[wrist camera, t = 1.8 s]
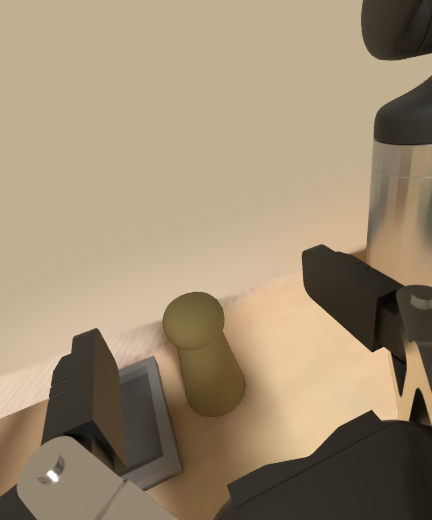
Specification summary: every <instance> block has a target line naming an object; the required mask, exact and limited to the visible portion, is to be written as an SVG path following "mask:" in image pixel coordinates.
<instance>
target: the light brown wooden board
mask: <svg viewBox="0 0 432 520" xmlns="http://www.w3.org/2000/svg"><path fill="white" fill-rule="evenodd" d="M48 400H49V399H47V400H45V401H42V402H40V403H38V404H35V405H33V406H30V407H28V408H25V409H23V410H21V411H18V412H16V413H13V414H11V415H9V416H6V417H4V418H1V419H0V496H2V495H3V494H4V493H6V492H7V491H8V490H10V489H11V488H12V487H13V486H14V485H15V484H17V481H18V478H19V475H20V472H21V470H22V468H23V466H24V465H25V463H26V462H27V460H28V459H29V458H30V456H31V455H32V454H33V453H34V452H35V451H36V450H37V449H38V448H39V447H40V446H41V441H42V435H43V429H44V423H45V417H46V411H47V405H48Z"/></svg>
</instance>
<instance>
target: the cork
mask: <svg viewBox="0 0 432 520" xmlns="http://www.w3.org/2000/svg"><path fill="white" fill-rule="evenodd" d="M223 327H224V313H223V309H222V307H221V305H220V304H219V302H218V301H217V299H215V298H214V297H213V296H211V295H209V294H207V293H203V292H192V293H187V294H184V295H182V296H180V297H178V298H176V299H175V300H173V301H172V302H171V303H170V304H169V305H168V307H167V309H166V311H165V313H164V317H163V328H164V331H165V333H166V336H167V338H168V339H169V340H170V341H171V342H172V343H173V344H174V345H175V346H176V347H177V350H178V355H179V360H180V365H181V371H182V376H183V381H184V386H185V391H186V397H187V400H188V403H189V405H190V406H191V407H192V409H193V410H194V411H195V412H197V413H199V414H201V415H204V416H210V417H214V416H220V415H223V414H225V413H227V412H229V411H231V410H233V409H234V408H235V407H236V406H237V405H238V404H239V403H240V401H241V399H242V397H243V396H244V391H245V380H244V377H243V375H242V373H241V370H240V368H239V366H238V364H237V362H236V360H235V357H234V355H233V353H232V351H231V349H230V346H229V344H228V342H227V340H226V338H225V336H224V333H223V331H222V330H223Z"/></svg>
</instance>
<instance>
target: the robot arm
mask: <svg viewBox="0 0 432 520" xmlns="http://www.w3.org/2000/svg"><path fill="white" fill-rule="evenodd" d="M361 26H362V35H363V40H364V43H365V46H366V48H367V49H368V51H369V52H370V54H371V55H372V56H374V57H375V58H377V59H380V60H402V59H407V58H411V57H416V56H421V55H426V54H430V53H432V0H363V4H362V13H361ZM302 267H303V282H304V287H305V290H306V292H307V294H308V295H309V296H310V297H311V298H312V299H313V300H314V301H315V302H316V303H317V304H318V305H319V306H321V307H322V308H323V309H324V310H325V311H326V312H327V313H328V314H330V315H331V316H332V317H333V318H334V319H335V320H336V321H337V322H338V323H340V324H341V325H342V326H343V327H344V328H345V329H346V330H347V331H349V332H350V333H351V334H352V335H353V336H354V337H355V338H356V339H358V340H359V341H360V342H361V343H362V344H363V345H364V346H365V347H367V348H368V349H369V350H370V351H371V352H374V351H376V350H378V349H380V348H382V347H385V348H386V349H388V350H389V353H388V359H389V365H390V370H391V375H392V380H393V385H394V390H395V396H396V401H397V407H398V420H382V421H381V420H380V419H379V418H378V416H377V415H376V414H375V413H374V412H373V411H372V410H370V411H368V412H367V413H365V414H363V415H361V416H359V417H357V418H355V419H353V420H351V421H349V422H347V423H345V424H343V425H341V426H340V427H338V428H337V429H336V430H335V431H334V432H333V433H332V434H331V435H330V436H329V437H328V438H327V439H326V440H325V441H324V443H323V444H322V445H321V446H320V447H319V448H318V449H317V450H316V451H315V452H314V453H313V454H311V455H310V456H308V457H305V458H299V459H294V460H289V461H284V462H279V463H273V464H268V465H265V466H263V467H261V468H259V469H257V470H255V471H253V472H251V473H249V474H247V475H245V476H243V477H241V478H239V479H238V480H236V481H234V482H232V483H230V484H228V485H227V487H228V490H229V493H230V496H231V499H230V500H229V501H228V502H227V503H226V504H225V505H224V506H223V507H222V508H221V509H220V511H219V512H218V513H217V514H216V516H215V518H214V519H213V520H432V76H431V77H429V78H428V79H427V80H426V81H424V82H423V83H422V84H420V85H419V86H417V87H416V88H414V89H413V90H411V91H409V92H408V93H406V94H404V95H402V96H400V97H398V98H396V99H394V100H392V101H391V102H389V103H387V104H385V105H384V106H383V107H381V108H380V110H379V111H378V112H377V114H376V117H375V123H374V140H373V153H372V171H371V187H370V202H369V219H368V233H367V248H366V263H363V262H362V261H361V260H359V259H358V258H356V257H354V256H352V255H350V254H345V253H342V252H335V251H333V250H331V249H330V248H328V247H326V246H325V245H322V244H321V245H318V246H315V247H313V248H310V249H307V250H305V251H303V253H302ZM51 387H52V388H50V394H49V398H50V399H49V400H48V405H47V411H46V417H45V423H44V429H43V435H42V441H41V446H40V447H39V448H38V449H37V450H36V451H35V452H34V453H33V454H32V455H31V456H30V458H29V459H28V460H27V462H26V463H25V465H24V466H23V468H22V470H21V472H20V475H19V478H18V481H17V484H15V485H14V486H13V487H12V488H11V489H10V490H8V491H7V492H6V493H4V494H3V495H2V496H0V520H178V519H177V518H176V517H174V516H173V515H172V514H171V513H169V512H168V511H167V510H166V509H165V508H163V507H162V506H161V505H160V504H158V503H157V502H156V501H155V500H154V499H152V498H151V497H150V496H149V495H147V494H146V493H145V492H144V491H143V490H141V489H140V488H139V487H138V486H136V485H135V484H134V483H132V482H131V481H130V480H128V479H126V480H123V479H122V478H120V477H119V476H118V475H117V474H115V473H116V472H118V471H120V470H123V469H125V468H126V455H125V442H124V429H123V417H122V404H121V391H120V378H119V371H118V367H117V364H116V361H115V359H114V357H113V355H112V353H111V351H110V350H109V348H108V346H107V344H106V342H105V340H104V339H103V337H102V335H101V333H100V331H99V330H98V329H97V328H95V329H92V330H90V331H87V332H84V333H82V334H79V335H76V336H74V337H73V342H72V351H71V354H69V355H66V356H63V357H62V358H61V359H60V361H59V363H58V364H57V366H56V368H55V369H54V371H53V376H52V382H51Z"/></svg>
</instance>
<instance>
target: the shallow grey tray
mask: <svg viewBox="0 0 432 520" xmlns="http://www.w3.org/2000/svg"><path fill="white" fill-rule="evenodd" d="M118 371H119V378H120V391H121V404H122V417H123V429H124V442H125V455H126V468H125V469H123V470H120V471H118V472H116V473H115V474H117V475H118V476H119V477H120V478H122V479H123V480H126V479H128V480H130V481H131V482H132V483H134V484H135V485H136V486H138V487H139V488H140V489H141V490H143V491H146V490H148V489H150V488H152V487H154V486H156V485H158V484H160V483H162V482H164V481H166V480H168V479H170V478H172V477H174V476H176V475H178V474H180V473H182V472H183V470H182V465H181V461H180V457H179V453H178V448H177V444H176V440H175V436H174V432H173V427H172V423H171V419H170V415H169V410H168V406H167V402H166V398H165V393H164V389H163V385H162V381H161V376H160V372H159V368H158V364H157V362H156V360H155V357H154V356H151V357H149V358H147V359H144V360H142V361H139V362H137V363H134V364H132V365H130V366H127V367H125V368H122V369H120V370H118Z"/></svg>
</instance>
